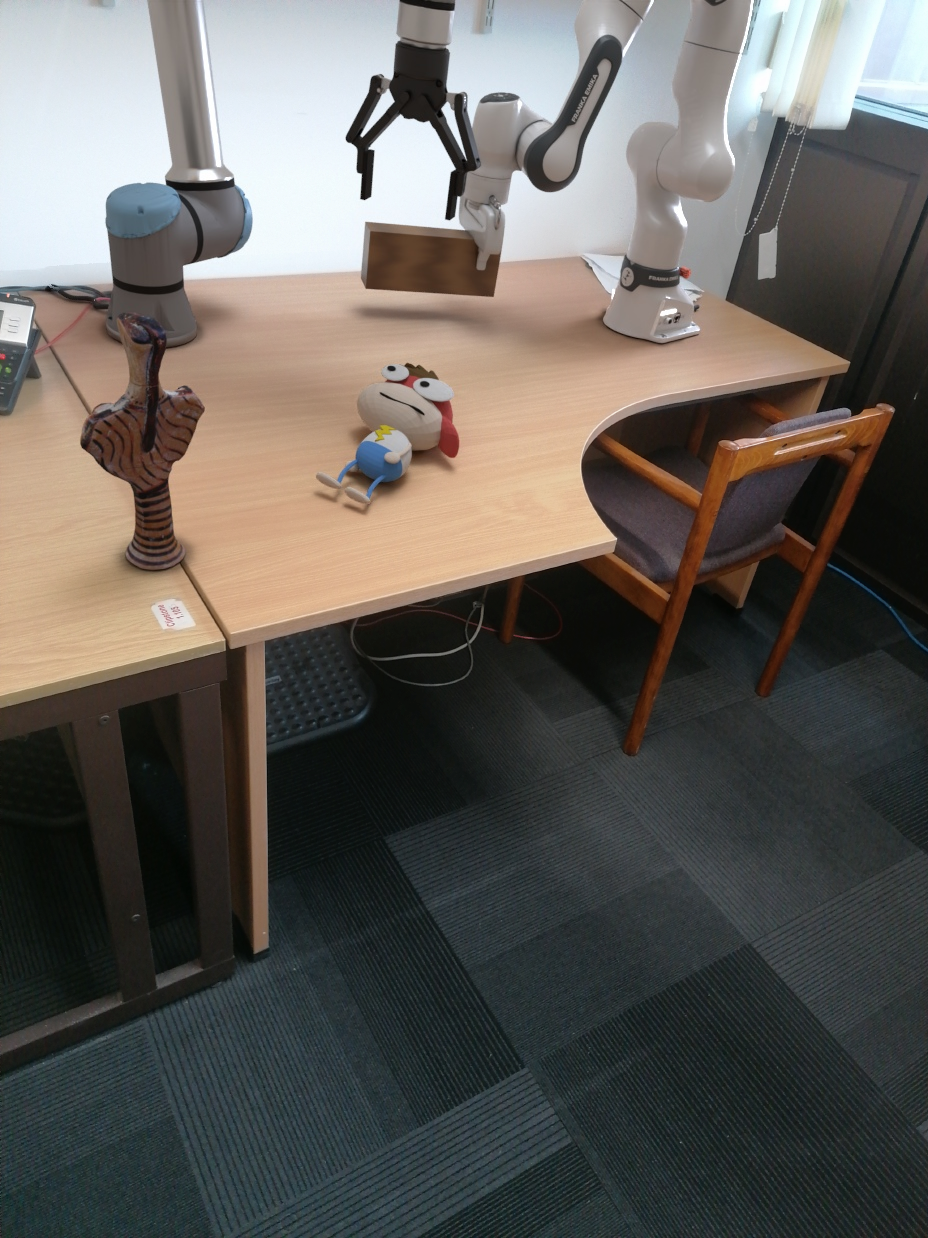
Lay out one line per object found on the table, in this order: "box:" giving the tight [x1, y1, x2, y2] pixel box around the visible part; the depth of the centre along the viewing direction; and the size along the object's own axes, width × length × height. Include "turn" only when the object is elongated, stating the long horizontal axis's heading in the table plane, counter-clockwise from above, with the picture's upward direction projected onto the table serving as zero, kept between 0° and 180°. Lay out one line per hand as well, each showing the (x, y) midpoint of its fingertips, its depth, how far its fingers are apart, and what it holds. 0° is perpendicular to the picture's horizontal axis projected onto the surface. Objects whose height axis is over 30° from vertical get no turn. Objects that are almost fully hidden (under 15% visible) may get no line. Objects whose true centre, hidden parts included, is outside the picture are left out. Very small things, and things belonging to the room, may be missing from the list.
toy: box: [315, 362, 460, 505], centre depth 132 cm, size 18×10×30 cm
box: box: [360, 221, 503, 298], centre depth 176 cm, size 26×6×11 cm, turn 105°
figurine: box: [79, 312, 206, 571], centre depth 99 cm, size 15×8×30 cm, turn 144°
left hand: (407, 208), depth 134 cm, fingers open, 13 cm apart
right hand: (475, 262), depth 179 cm, fingers closed on box, 6 cm apart
